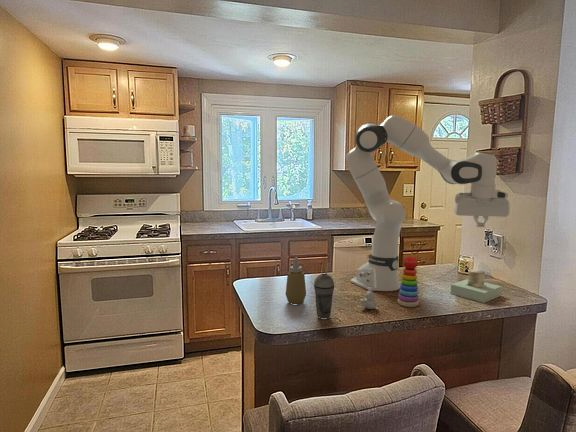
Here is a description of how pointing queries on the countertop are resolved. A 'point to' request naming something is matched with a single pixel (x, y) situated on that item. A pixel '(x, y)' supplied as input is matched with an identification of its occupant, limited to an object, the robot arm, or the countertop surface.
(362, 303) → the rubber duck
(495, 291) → the socket block
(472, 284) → the peg
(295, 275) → the squeeze bottle
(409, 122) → the robot arm
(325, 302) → the beverage cup
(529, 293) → the countertop surface
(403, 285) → the stacking toy
